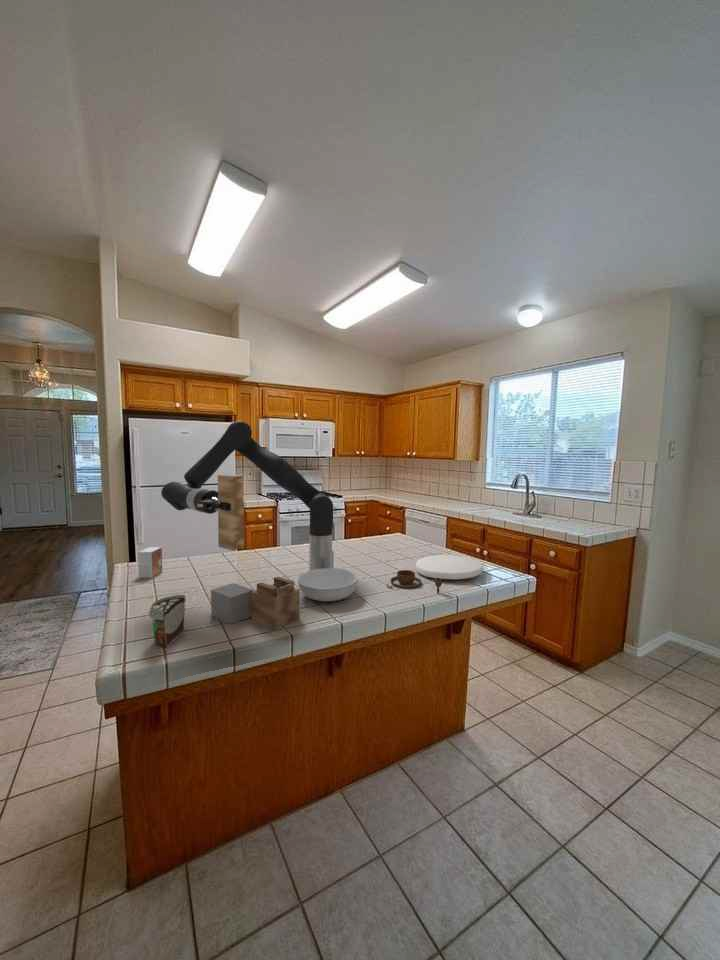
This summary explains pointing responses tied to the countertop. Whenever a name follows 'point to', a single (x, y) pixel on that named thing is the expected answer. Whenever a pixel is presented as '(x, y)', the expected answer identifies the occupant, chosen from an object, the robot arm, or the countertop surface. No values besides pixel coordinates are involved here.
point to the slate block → (231, 603)
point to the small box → (150, 562)
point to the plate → (449, 567)
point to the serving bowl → (327, 584)
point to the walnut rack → (275, 603)
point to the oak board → (231, 512)
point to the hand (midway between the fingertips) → (236, 506)
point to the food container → (168, 619)
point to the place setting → (410, 580)
